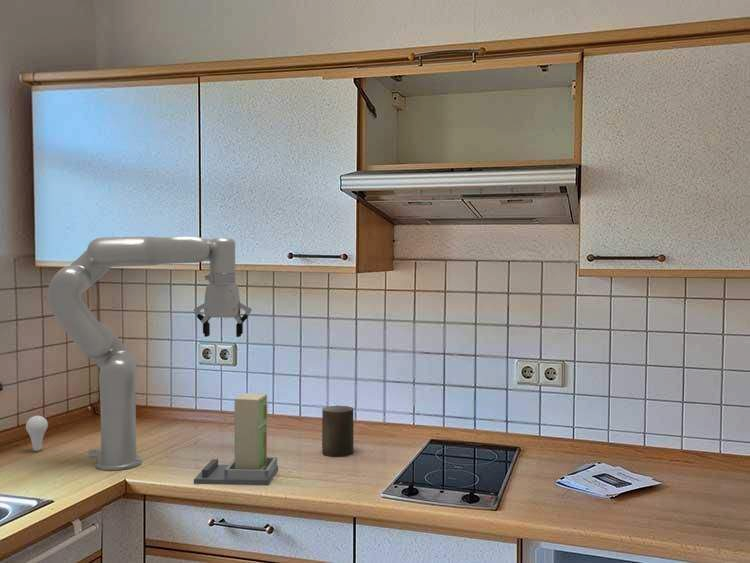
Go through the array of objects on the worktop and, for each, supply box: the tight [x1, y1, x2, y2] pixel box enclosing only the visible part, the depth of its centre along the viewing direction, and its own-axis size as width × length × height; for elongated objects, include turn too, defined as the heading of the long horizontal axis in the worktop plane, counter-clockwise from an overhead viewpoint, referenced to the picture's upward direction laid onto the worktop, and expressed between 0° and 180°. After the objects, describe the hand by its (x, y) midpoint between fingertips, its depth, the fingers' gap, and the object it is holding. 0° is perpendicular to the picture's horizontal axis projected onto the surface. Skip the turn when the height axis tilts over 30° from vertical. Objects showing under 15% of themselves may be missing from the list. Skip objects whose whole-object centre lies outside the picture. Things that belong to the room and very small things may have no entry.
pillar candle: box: [321, 404, 355, 458], centre depth 214 cm, size 10×10×15 cm
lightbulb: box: [25, 415, 49, 452], centre depth 215 cm, size 6×6×11 cm
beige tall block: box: [234, 392, 268, 470], centre depth 190 cm, size 8×7×21 cm
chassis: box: [193, 456, 279, 486], centre depth 190 cm, size 20×13×4 cm, turn 87°
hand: (222, 336), depth 209 cm, fingers open, 9 cm apart
